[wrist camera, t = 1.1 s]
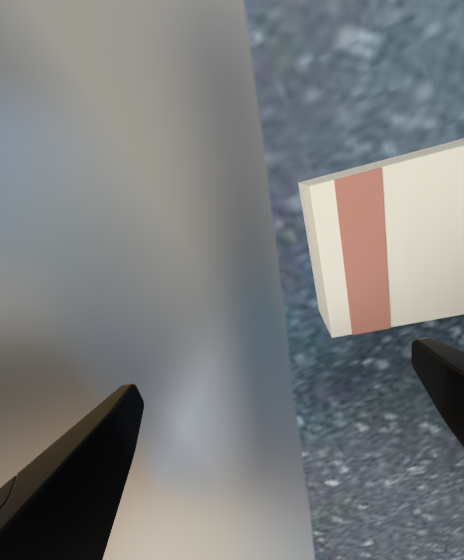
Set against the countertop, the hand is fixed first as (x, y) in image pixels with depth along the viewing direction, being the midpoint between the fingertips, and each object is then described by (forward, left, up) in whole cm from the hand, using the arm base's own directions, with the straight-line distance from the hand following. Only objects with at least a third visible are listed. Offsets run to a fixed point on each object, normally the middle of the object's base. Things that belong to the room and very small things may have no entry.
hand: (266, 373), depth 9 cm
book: (-1, -10, -13) cm, 16 cm away
